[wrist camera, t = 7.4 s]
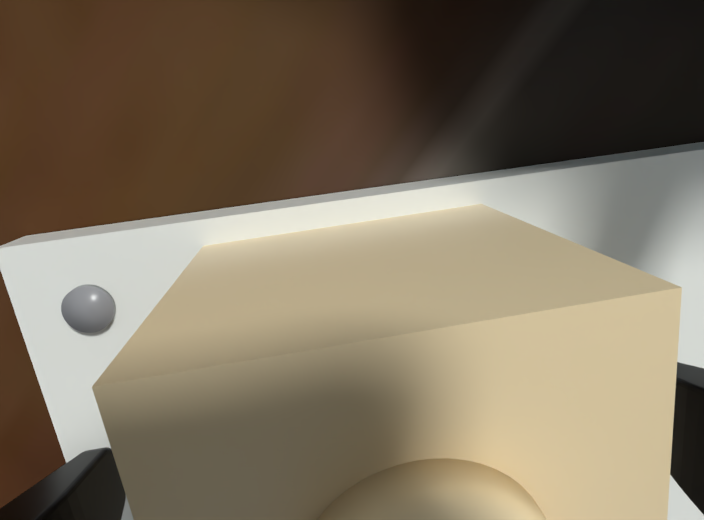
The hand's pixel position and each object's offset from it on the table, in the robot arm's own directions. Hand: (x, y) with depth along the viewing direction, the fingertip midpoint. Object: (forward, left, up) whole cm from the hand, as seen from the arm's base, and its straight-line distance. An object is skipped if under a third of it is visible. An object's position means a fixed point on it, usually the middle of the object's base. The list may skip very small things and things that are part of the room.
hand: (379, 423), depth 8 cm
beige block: (0, 0, -3) cm, 3 cm away
